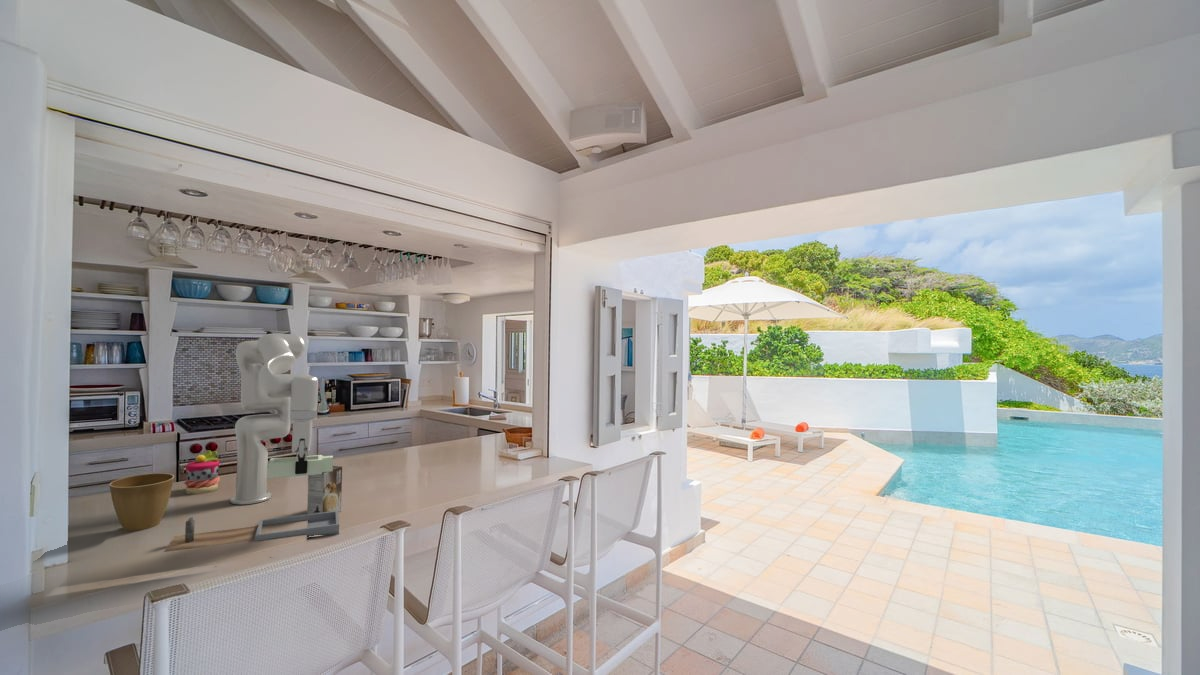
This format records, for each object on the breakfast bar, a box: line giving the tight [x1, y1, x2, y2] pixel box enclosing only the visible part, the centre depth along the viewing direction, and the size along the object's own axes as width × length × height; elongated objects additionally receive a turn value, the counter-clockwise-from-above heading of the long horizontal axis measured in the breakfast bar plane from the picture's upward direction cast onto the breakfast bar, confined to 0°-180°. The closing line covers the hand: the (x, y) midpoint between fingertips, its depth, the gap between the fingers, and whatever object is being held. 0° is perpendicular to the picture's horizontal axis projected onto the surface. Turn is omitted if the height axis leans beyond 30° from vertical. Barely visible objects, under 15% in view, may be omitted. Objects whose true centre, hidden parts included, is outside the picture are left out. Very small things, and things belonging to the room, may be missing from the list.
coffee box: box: [306, 465, 343, 514], centre depth 174 cm, size 9×6×16 cm
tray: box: [254, 511, 340, 542], centre depth 158 cm, size 14×22×3 cm, turn 119°
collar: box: [267, 454, 334, 480], centre depth 159 cm, size 7×17×4 cm, turn 119°
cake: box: [183, 449, 221, 495], centre depth 196 cm, size 10×11×15 cm
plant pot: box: [109, 472, 175, 532], centre depth 155 cm, size 15×15×16 cm
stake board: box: [163, 516, 257, 553], centre depth 148 cm, size 12×20×8 cm, turn 119°
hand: (301, 470), depth 159 cm, fingers closed on collar, 7 cm apart
